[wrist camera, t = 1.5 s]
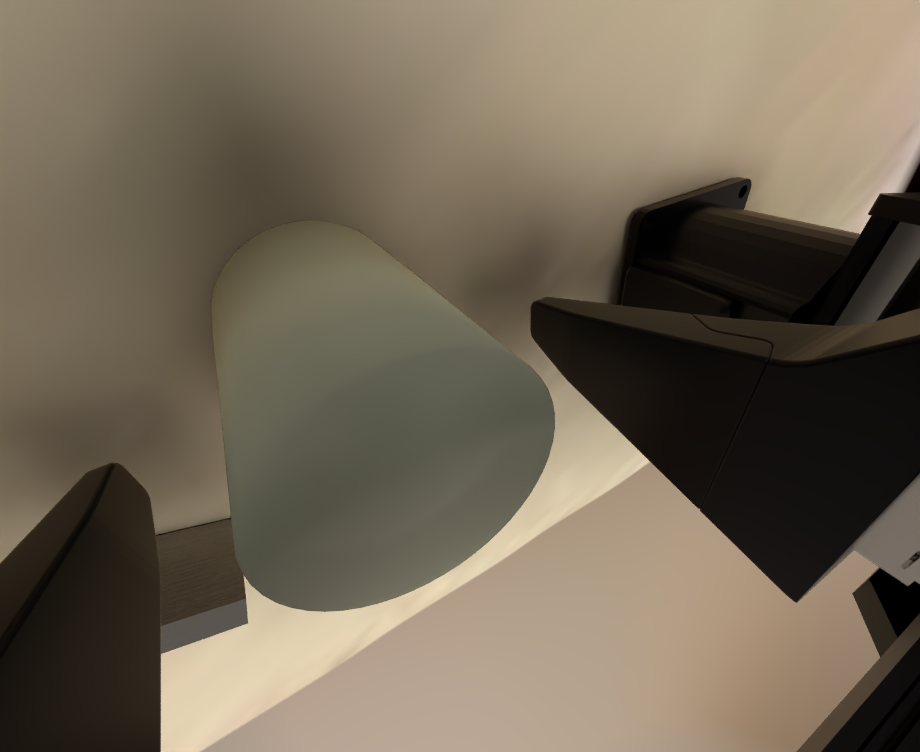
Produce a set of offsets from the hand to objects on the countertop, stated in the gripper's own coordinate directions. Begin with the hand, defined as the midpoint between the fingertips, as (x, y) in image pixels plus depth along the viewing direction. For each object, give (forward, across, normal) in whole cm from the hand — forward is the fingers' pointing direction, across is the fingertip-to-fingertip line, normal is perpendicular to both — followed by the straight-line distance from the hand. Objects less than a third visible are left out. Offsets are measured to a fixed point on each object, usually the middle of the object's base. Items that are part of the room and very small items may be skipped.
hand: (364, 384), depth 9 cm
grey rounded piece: (+4, 0, 0) cm, 4 cm away
